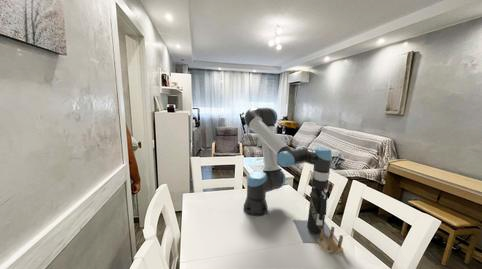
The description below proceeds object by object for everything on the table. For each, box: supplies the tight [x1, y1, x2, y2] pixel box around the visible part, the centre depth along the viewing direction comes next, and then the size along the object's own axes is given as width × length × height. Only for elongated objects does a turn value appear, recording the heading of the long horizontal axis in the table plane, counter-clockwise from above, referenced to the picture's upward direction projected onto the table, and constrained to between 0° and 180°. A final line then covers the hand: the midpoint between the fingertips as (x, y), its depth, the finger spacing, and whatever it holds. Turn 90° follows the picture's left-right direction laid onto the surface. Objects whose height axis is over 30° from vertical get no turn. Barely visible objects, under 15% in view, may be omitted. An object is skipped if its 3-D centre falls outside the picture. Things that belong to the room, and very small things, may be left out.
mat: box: [292, 219, 339, 244], centre depth 103 cm, size 18×18×1 cm
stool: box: [317, 226, 344, 255], centre depth 92 cm, size 8×8×8 cm
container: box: [307, 191, 329, 233], centre depth 101 cm, size 9×9×20 cm
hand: (315, 219), depth 102 cm, fingers closed on container, 8 cm apart
